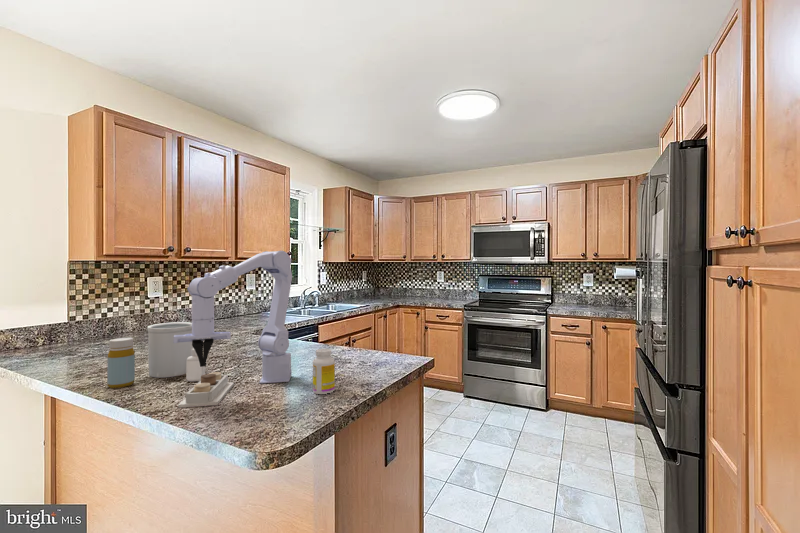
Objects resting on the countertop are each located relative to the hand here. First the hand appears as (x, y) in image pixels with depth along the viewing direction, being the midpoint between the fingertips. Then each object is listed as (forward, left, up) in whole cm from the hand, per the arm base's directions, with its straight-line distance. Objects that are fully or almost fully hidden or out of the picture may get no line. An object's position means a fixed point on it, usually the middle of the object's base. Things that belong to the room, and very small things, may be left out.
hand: (203, 365), depth 105 cm
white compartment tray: (0, -4, -10) cm, 11 cm away
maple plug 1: (0, +1, -9) cm, 9 cm away
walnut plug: (0, -4, -8) cm, 9 cm away
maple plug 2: (0, -9, -9) cm, 13 cm away
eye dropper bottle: (+9, -21, -10) cm, 25 cm away
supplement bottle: (-34, 0, -10) cm, 36 cm away
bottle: (+31, -20, -10) cm, 38 cm away
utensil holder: (+21, -33, -10) cm, 40 cm away
